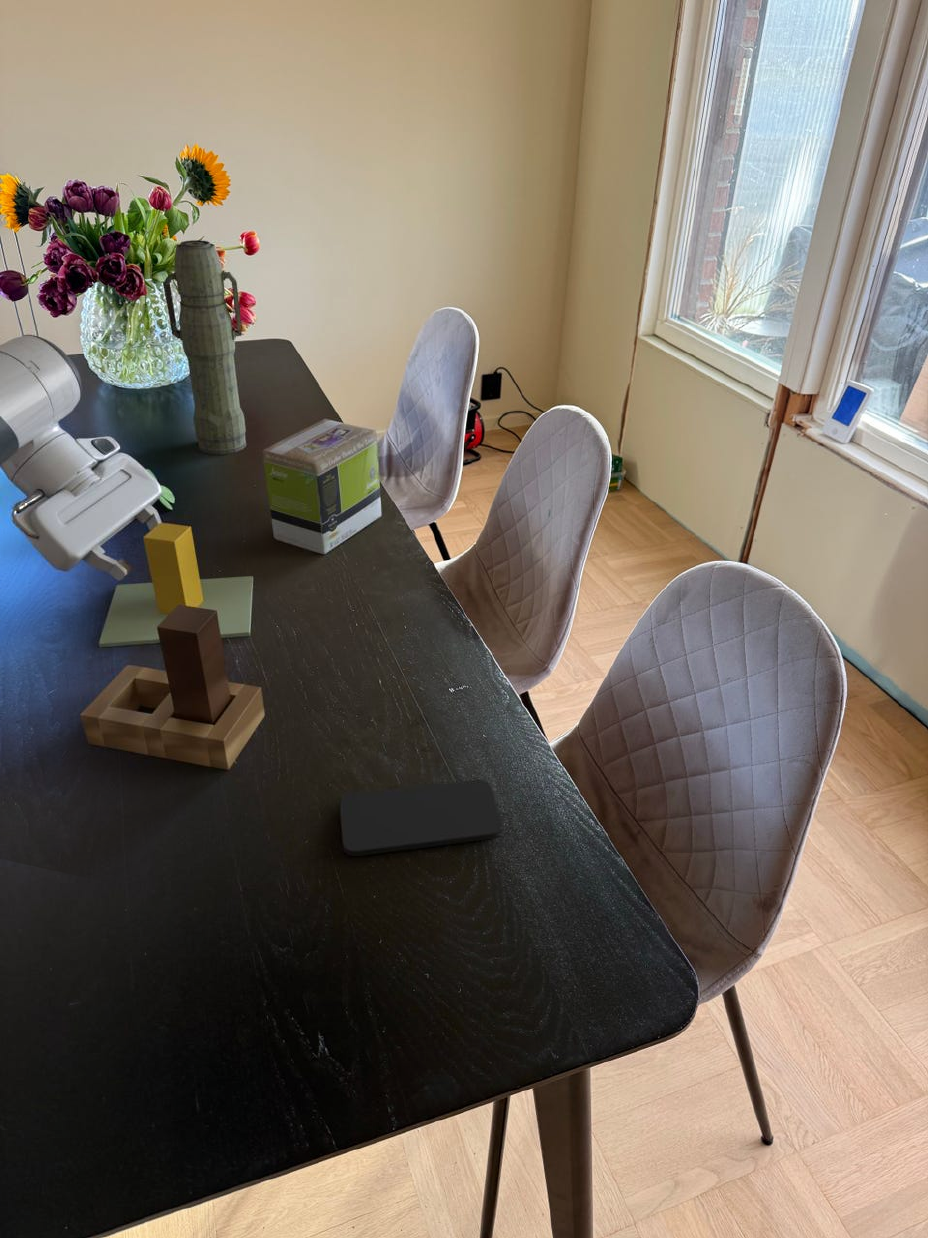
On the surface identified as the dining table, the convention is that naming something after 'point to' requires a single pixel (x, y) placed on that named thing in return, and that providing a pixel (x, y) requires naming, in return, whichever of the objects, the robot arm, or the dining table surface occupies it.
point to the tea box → (323, 484)
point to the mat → (139, 614)
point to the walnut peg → (195, 664)
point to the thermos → (208, 344)
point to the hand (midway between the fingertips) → (146, 557)
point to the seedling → (165, 494)
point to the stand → (169, 721)
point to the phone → (418, 817)
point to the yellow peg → (173, 567)
